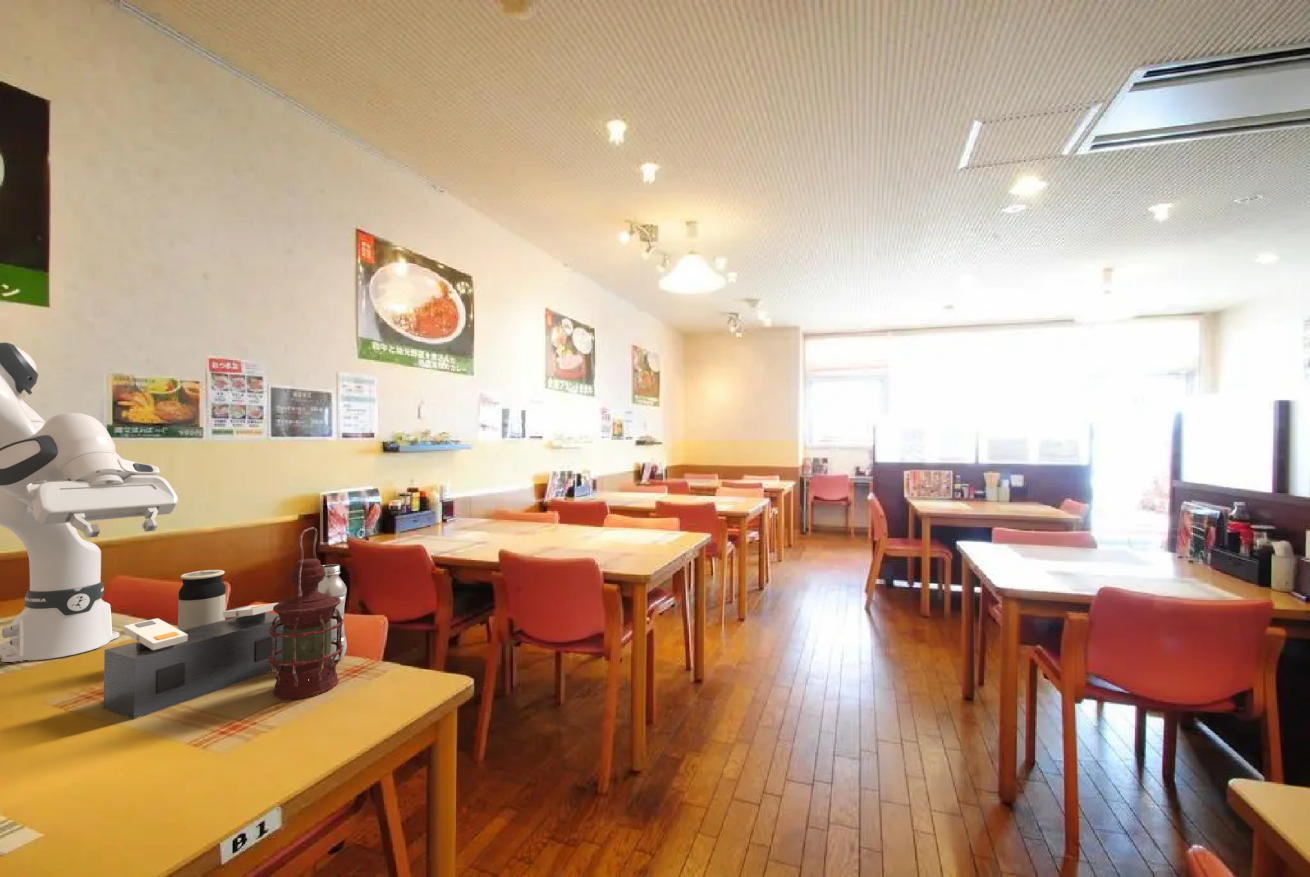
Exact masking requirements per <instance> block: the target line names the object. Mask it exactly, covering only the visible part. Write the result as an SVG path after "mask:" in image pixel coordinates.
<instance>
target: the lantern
mask: <svg viewBox="0 0 1310 877" xmlns="http://www.w3.org/2000/svg"><path fill="white" fill-rule="evenodd" d="M311 530H314V541H313V550H312V553H313V558H305V559H304V554H305V552H304V546H303V537H304V534H305V533H306V532H308V531H311ZM317 540H318V530H317V528H316V527H314V526H312V527H307V528H306V529H303V531H302V532H301V533H300V535H299V546H300V551H301V555H300V556H301V557H300V560H298V561H297V562H296V564H295V566H294V567H293V568H292V569H291V574H290V576H289V578H290V579H291V583H293V584H294V585H296V586H297V593H296V594H295V595H293V596H291V597H289V598H287V599H285V600H284V601H281V602H277V603H278V604H276V605H275V606H274V607H273V610H272V611H273V613H275V614H278V615H279V616H277V617H275V618H274V620H273V622H272V627H270V629H269V633H270V634H271V635H272V653H271V654H270V656H269V662H270V663H271V666H272V671H271V672H272V673H273V674H274V675H275V676H276V677H275V679H276V681H275V684H274V689H273V692H272V693H273V696H274V697H275V698H276V697H277V698H276V699H279V698H280V700H281V699H282V700H288V699H293V700H302V699H306V697H307V698H310V697H311V698H312V697H314V695H316V696H318V695H317V694H319V695H321V693H322V694H324V693H326V692H328V690H329V691H331V690H332V689H334V688H335V687H336V686H337V685H338V684H339V678H338V673H337V665H338V663H339V662H340V661H341V659H342V658H341V655H342V651H343V648H344V646H343V645H342V644H341V636H342V625H343V622H344V623H345V620H343V618H342V617H341V616H340V612H339V610H338V609H336V608H335V607H336V606H337V605H338V604H339V603H340V601H341V599H340V598H338V597H334V596H330V595H327V594H324V593H321V592H319V591H318V584H319V582H320V581H322V580H323V579H324V576H325V574H326V572H325V570H324V565H323V564H321V560H319V558H317V555H316V546H317ZM335 611H336V612H337V613H336V612H335ZM334 613H335V614H337V616H333V614H334ZM278 617H279V618H280V619H279V620H278V621H277V622H276V623H275V621H276V619H277V618H278ZM330 618H332V619H336V620H337V624H336V625H335V626H332V627H331V620H330ZM279 622H281V623H279ZM281 625H284V626H283V634H281V633H276V628H277V627H279V626H281ZM335 628H337V640H336V641H331V630H333V629H335ZM276 636H277V637H283V638H282V649H280V650H277V651H275V638H276ZM331 644H335V645H336V652H335V653H333V654H330V652H331ZM280 652H282V657H283V662H278V661H275V655H276V654H278V653H280ZM337 654H338V655H339V659H338V660H336V662H335V661H334V659H335V658H336V656H337ZM333 656H334V657H333ZM331 657H333V659H332V658H331ZM276 665H280V666H282V667H281V668H280V669H279V668H278V667H277V666H276ZM275 668H276V669H277V671H276V670H275ZM308 679H309V681H308ZM334 686H335V687H334ZM333 687H334V688H333ZM330 689H331V690H330ZM323 692H324V693H323ZM301 698H302V699H301Z"/></svg>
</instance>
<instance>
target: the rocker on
mask: <svg viewBox="0 0 1310 877" xmlns="http://www.w3.org/2000/svg"><path fill="white" fill-rule="evenodd" d="M122 633H124V635H126V636H129V637H130V638H132V639H133V640H135V641H136V642H140V643H142V644H143V645H145V646H147V647H148V648H150V649H152V650H156V649H160V648H163V647H167V646H171V645H175V644H179V643H182V642H186V641H187V639H188V634H186V633H184V632H182V631H180V630H178V627H177V628H176V627H174V626H173V625H171V624H170V623H168V622H166V621H164V620H163V619H160V618H152V619H149V620H144V621H140V622H134V623H130V624H125V625H123V630H122Z"/></svg>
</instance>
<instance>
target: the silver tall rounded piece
mask: <svg viewBox="0 0 1310 877" xmlns="http://www.w3.org/2000/svg"><path fill="white" fill-rule="evenodd" d="M323 566H324V570H325V572H326V574H325V576H324V579H323V580H322V581H320V582H319V584H318V591H319V592H321V593H324V594H327V595H330V596H334V597H338V598H340V599H341V601H340V603H339V604H338V605H337V606H336V607H335V608H336V609H338V610H339V612H340V616H341V617H342V618H343V620H344V619H345V618H344V617H345V616H344V615H345V605H346V604H345V603H346V597H347V593H348V592H347V590H348V589H347V585H346V584H345V583H344V581H343V580H342V578H341V576H339V575H340V574H341V565H340V564H336V563H334V564H333V563H332V564H324V565H323ZM335 612H336V611H335ZM336 613H337V612H336ZM333 616H337V614H335V613H334V614H333ZM330 620H331V627H332V626H335V625H336V624H337V620H336V619H332V618H330ZM345 634H346V632H345V620H344V622H343V625H342V636H341V644H342V645H343V646H344V648H343V651H342V655H341V659H342V658H344V656H345V654H346V653H347V648H348V644H347V637H346V635H345ZM336 640H337V628H335V629H333V630H331V641H336ZM335 652H336V645H335V644H331V652H330V654H333V653H335ZM333 657H334V656H333ZM333 657H331V658H332V659H333ZM338 659H339V655H338V654H337V656H336V658H335V659H334V662H335V661H338Z"/></svg>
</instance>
